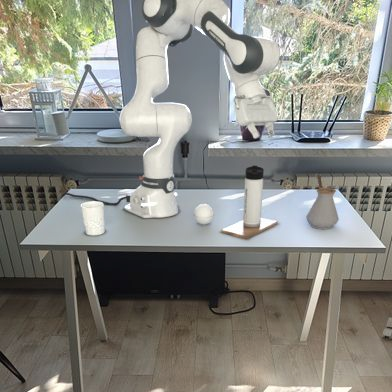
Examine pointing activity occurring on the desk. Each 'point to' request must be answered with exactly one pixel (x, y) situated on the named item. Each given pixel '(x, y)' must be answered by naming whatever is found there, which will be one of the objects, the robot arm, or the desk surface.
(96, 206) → the white cup
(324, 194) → the coffee pot
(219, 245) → the desk surface
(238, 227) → the white flat rectangular slab
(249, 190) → the travel mug
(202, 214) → the seamed sphere
